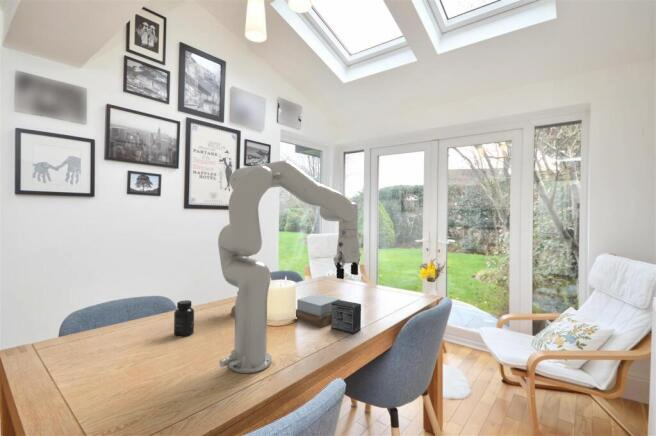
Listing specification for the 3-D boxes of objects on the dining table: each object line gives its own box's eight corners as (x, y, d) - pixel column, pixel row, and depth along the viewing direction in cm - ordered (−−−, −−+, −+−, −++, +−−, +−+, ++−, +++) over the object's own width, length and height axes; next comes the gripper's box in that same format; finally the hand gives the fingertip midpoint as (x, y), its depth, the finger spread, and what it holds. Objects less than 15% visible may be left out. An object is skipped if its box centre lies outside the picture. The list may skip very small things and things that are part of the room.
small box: (361, 329, 124) (362, 303, 124) (354, 334, 118) (354, 307, 118) (338, 324, 130) (339, 299, 129) (330, 328, 124) (330, 302, 124)
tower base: (320, 329, 125) (321, 318, 125) (294, 320, 134) (294, 310, 134) (342, 319, 137) (343, 309, 137) (316, 312, 146) (317, 302, 146)
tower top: (320, 316, 127) (320, 305, 126) (297, 309, 135) (297, 299, 134) (339, 309, 137) (339, 299, 137) (316, 303, 145) (316, 293, 145)
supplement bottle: (197, 333, 117) (197, 302, 116) (178, 339, 112) (178, 305, 111) (189, 328, 121) (189, 298, 121) (170, 333, 116) (171, 301, 116)
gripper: (342, 235, 114) (342, 281, 115) (367, 233, 128) (367, 274, 128) (327, 234, 119) (326, 278, 119) (352, 232, 132) (351, 272, 133)
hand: (347, 276), depth 124 cm, fingers open, 9 cm apart
